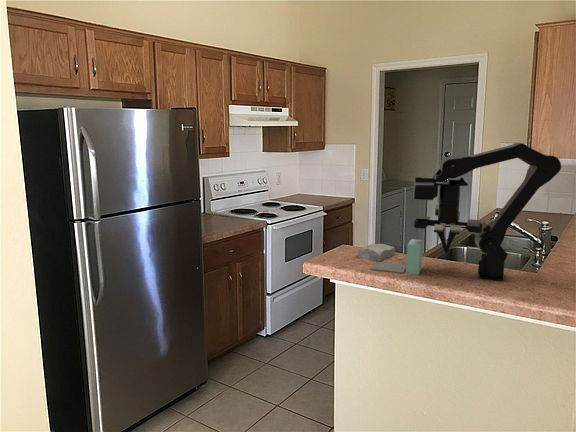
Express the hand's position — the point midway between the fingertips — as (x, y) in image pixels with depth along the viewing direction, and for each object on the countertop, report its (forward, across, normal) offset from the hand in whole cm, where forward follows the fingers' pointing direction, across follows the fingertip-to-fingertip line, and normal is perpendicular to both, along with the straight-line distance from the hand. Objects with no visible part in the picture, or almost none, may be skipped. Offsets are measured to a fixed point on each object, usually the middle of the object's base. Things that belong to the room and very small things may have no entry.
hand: (446, 252), depth 143 cm
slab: (+7, +9, 0) cm, 11 cm away
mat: (+7, +17, 0) cm, 18 cm away
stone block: (+7, +24, -12) cm, 28 cm away
